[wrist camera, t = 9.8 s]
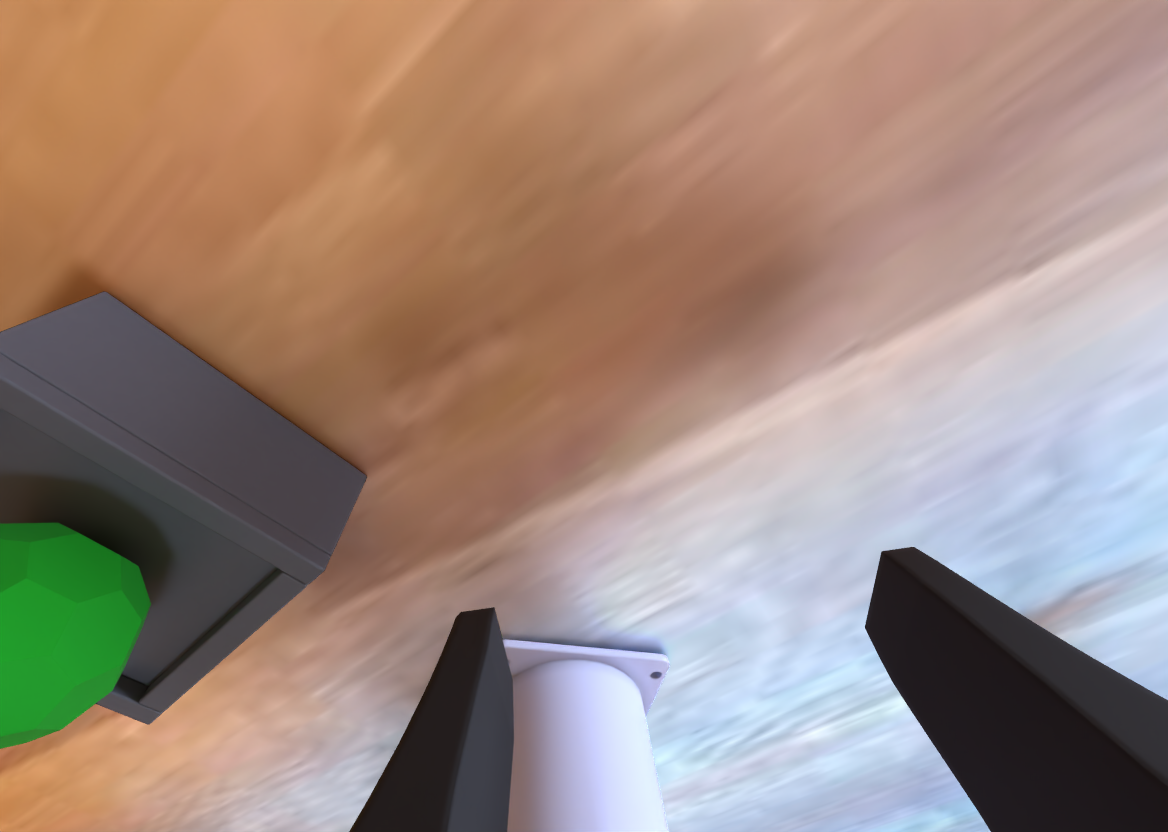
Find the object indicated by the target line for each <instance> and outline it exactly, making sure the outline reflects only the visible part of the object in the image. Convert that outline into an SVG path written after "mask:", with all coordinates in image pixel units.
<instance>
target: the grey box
mask: <svg viewBox="0 0 1168 832" xmlns="http://www.w3.org/2000/svg"><path fill="white" fill-rule="evenodd" d="M366 478H367V476H366V475H365V474H363V473H362V472H360V471H359V470H357V469H356V468H355V467H353V466H352V465H350V464H349V463H348V462H346V461H345V460H343V459H342V458H340V457H339V456H338V455H336V454H335V453H333V452H332V451H331V450H329V449H328V448H326V447H325V446H323V445H322V444H321V443H319V442H318V441H316V440H315V439H314V438H312V437H311V436H309V435H308V434H307V433H305V432H304V431H302V430H301V429H299V428H298V427H297V426H295V425H294V424H292V423H291V422H290V421H288V420H287V419H285V418H284V417H282V416H281V415H280V414H278V413H277V412H275V411H274V410H273V409H271V408H270V407H268V406H267V405H265V404H264V403H263V402H261V401H260V400H258V399H257V398H256V397H254V396H253V395H251V394H250V393H249V392H247V391H246V390H244V389H243V388H241V387H240V386H239V385H237V384H236V383H234V382H233V381H232V380H230V379H229V378H227V377H226V376H224V375H223V374H222V373H220V372H219V371H217V370H216V369H215V368H213V367H212V366H210V365H209V364H207V363H206V362H205V361H203V360H202V359H200V358H199V357H198V356H196V355H195V354H193V353H192V352H191V351H189V350H188V349H186V348H185V347H183V346H182V345H181V344H179V343H178V342H176V341H175V340H174V339H172V338H171V337H169V336H168V335H166V334H165V333H164V332H162V331H161V330H159V329H158V328H157V327H155V326H154V325H152V324H151V323H149V322H148V321H147V320H145V319H144V318H142V317H141V316H140V315H138V314H137V313H135V312H134V311H132V310H131V309H130V308H128V307H127V306H125V305H124V304H123V303H121V302H120V301H118V300H117V299H116V298H114V297H113V296H111V295H110V294H108V293H107V292H101V293H99V294H96V295H94V296H91V297H88V298H86V299H83V300H81V301H78V302H76V303H73V304H71V305H68V306H65V307H63V308H60V309H58V310H55V311H53V312H50V313H48V314H45V315H42V316H40V317H37V318H35V319H32V320H30V321H27V322H25V323H22V324H19V325H17V326H14V327H12V328H9V329H7V330H4V331H1V332H0V524H8V523H60V524H62V525H64V526H66V527H68V528H70V529H72V530H74V531H76V532H78V533H80V534H82V535H84V536H85V537H87V538H89V539H91V540H93V541H95V542H97V543H98V544H100V545H102V546H104V547H106V548H108V549H109V550H111V551H113V552H115V553H117V554H119V555H120V556H122V557H124V558H126V559H127V560H129V561H131V562H132V563H134V564H136V565H137V566H139V569H140V572H141V575H142V578H143V581H144V584H145V587H146V590H147V593H148V596H149V599H150V602H151V606H150V608H149V611H148V614H147V616H146V619H145V622H144V624H143V627H142V629H141V632H140V634H139V636H138V638H137V641H136V643H135V645H134V647H133V650H132V652H131V654H130V656H129V659H128V661H127V663H126V665H125V668H124V670H123V672H122V674H121V676H120V677H119V679H118V681H117V683H116V685H115V687H114V689H113V691H111V692H110V693H109V694H107V695H106V696H105V697H104V698H102V699H101V700H100V701H98V702H97V703H96V704H98V705H100V706H103V707H105V708H108V709H110V710H113V711H115V712H118V713H120V714H123V715H125V716H128V717H130V718H133V719H135V720H138V721H140V722H143V723H145V724H151V723H152V722H153V721H154V720H155V719H156V718H157V717H159V716H160V715H161V714H162V713H163V712H164V711H165V710H166V709H168V708H169V707H170V706H171V705H172V704H173V703H174V702H175V701H177V700H178V699H179V698H180V697H181V696H182V695H183V694H185V693H186V692H187V691H188V690H189V689H190V688H191V687H193V686H194V685H195V684H196V683H197V682H198V681H199V680H201V679H202V678H203V677H204V676H205V675H206V674H207V673H209V672H210V671H211V670H212V669H213V668H214V667H215V666H216V665H218V664H219V663H220V662H221V661H222V660H223V659H224V658H226V657H227V656H228V655H229V654H230V653H231V652H232V651H234V650H235V649H236V648H237V647H238V646H239V645H240V644H242V643H243V642H244V641H245V640H246V639H247V638H248V637H250V636H251V635H252V634H253V633H254V632H255V631H256V630H258V629H259V628H260V627H261V626H262V625H263V624H264V623H265V622H267V621H268V620H269V619H270V618H271V617H272V616H273V615H275V614H276V613H277V612H278V611H279V610H280V609H281V608H283V607H284V606H285V605H286V604H287V603H288V602H289V601H291V600H292V599H293V598H294V597H295V596H296V595H297V594H299V593H300V592H301V591H302V590H303V589H304V588H305V587H306V586H307V585H308V584H310V583H311V582H312V581H313V580H314V579H316V578H317V577H318V576H319V575H320V574H321V573H322V572H324V571H325V569H326V566H327V564H328V562H329V560H330V556H332V553H333V551H334V549H335V547H336V545H337V542H338V540H339V538H340V536H341V534H342V531H343V529H344V527H345V525H346V523H347V520H348V518H349V516H350V514H351V512H352V509H353V507H354V505H355V503H356V500H357V498H358V496H359V494H360V492H361V489H362V487H363V485H364V483H365V481H366Z"/></svg>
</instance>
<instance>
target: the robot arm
mask: <svg viewBox="0 0 1168 832" xmlns="http://www.w3.org/2000/svg"><path fill="white" fill-rule="evenodd" d="M865 629H866V631H867V633H868V635H869V637H870V639H871V641H872V643H873V645H874V647H875V649H876V651H877V653H878V655H879V657H880V659H881V661H882V663H883V665H884V667H885V669H886V670H887V672H888V674H889V676H890V678H891V680H892V682H893V683H894V685H895V686H896V688H897V690H898V691H899V693H900V694H901V696H902V697H903V699H904V700H905V702H906V703H907V705H908V706H909V708H910V710H911V711H912V713H913V714H914V716H915V717H916V719H917V720H918V722H919V723H920V725H921V726H922V728H923V729H924V731H925V732H926V734H927V735H928V737H929V738H930V740H931V741H932V743H933V744H934V746H935V747H936V749H937V750H938V752H939V753H940V755H941V756H942V758H943V759H944V761H945V762H946V764H947V765H948V767H949V768H950V770H951V771H952V773H953V774H954V776H955V777H956V779H957V780H958V782H959V783H960V785H961V786H962V788H963V789H964V791H965V792H966V794H967V795H968V797H969V798H970V800H971V801H972V803H973V804H974V806H975V807H976V809H977V810H978V812H979V813H980V815H981V816H982V818H983V820H984V821H985V823H986V824H987V826H988V828H989V829H990V831H991V832H1168V700H1166V699H1164V698H1163V697H1161V696H1159V695H1157V694H1155V693H1153V692H1152V691H1150V690H1148V689H1146V688H1144V687H1143V686H1141V685H1139V684H1137V683H1136V682H1134V681H1132V680H1130V679H1129V678H1127V677H1125V676H1123V675H1122V674H1120V673H1118V672H1116V671H1115V670H1113V669H1111V668H1109V667H1108V666H1106V665H1104V664H1102V663H1101V662H1099V661H1097V660H1095V659H1093V658H1092V657H1090V656H1088V655H1087V654H1085V653H1083V652H1082V651H1080V650H1078V649H1077V648H1075V647H1073V646H1072V645H1070V644H1068V643H1067V642H1065V641H1063V640H1062V639H1060V638H1058V637H1057V636H1055V635H1053V634H1052V633H1050V632H1048V631H1047V630H1045V629H1044V628H1042V627H1040V626H1039V625H1037V624H1036V623H1034V622H1032V621H1031V620H1029V619H1027V618H1026V617H1024V616H1023V615H1021V614H1019V613H1018V612H1016V611H1015V610H1013V609H1012V608H1010V607H1008V606H1007V605H1005V604H1004V603H1002V602H1000V601H999V600H997V599H996V598H994V597H993V596H991V595H989V594H988V593H986V592H985V591H983V590H982V589H980V588H978V587H977V586H975V585H974V584H972V583H971V582H969V581H968V580H966V579H964V578H963V577H961V576H960V575H958V574H957V573H955V572H953V571H952V570H950V569H949V568H947V567H946V566H944V565H942V564H941V563H939V562H938V561H936V560H934V559H933V558H931V557H930V556H928V555H926V554H925V553H923V552H921V551H920V550H918V549H916V548H915V547H909V548H902V549H895V550H888V551H882V552H881V557H880V561H879V566H878V570H877V575H876V579H875V584H874V588H873V593H872V597H871V602H870V606H869V611H868V615H867V620H866V625H865ZM669 667H670V664H669V660H668V658H667V656H665V655H663V654H657V653H646V652H636V651H625V650H615V649H604V648H593V647H583V646H572V645H561V644H551V643H540V642H530V641H519V640H508V639H505V640H503V639H502V635H501V631H500V628H499V624H498V620H497V616H496V612H495V608H494V607H493V608H486V609H479V610H472V611H465V612H461V613H460V614H459V615H458V616H457V617H456V619H455V621H454V624H453V627H452V629H451V632H450V634H449V637H448V639H447V642H446V644H445V647H444V649H443V651H442V654H441V656H440V658H439V661H438V663H437V665H436V667H435V670H434V672H433V674H432V676H431V679H430V681H429V683H428V685H427V687H426V689H425V692H424V694H423V696H422V698H421V700H420V702H419V704H418V706H417V708H416V710H415V712H414V714H413V716H412V718H411V720H410V722H409V724H408V726H407V728H406V730H405V732H404V734H403V736H402V738H401V740H400V742H399V744H398V746H397V748H396V750H395V751H394V753H393V755H392V757H391V759H390V761H389V762H388V764H387V766H386V768H385V770H384V772H383V773H382V775H381V777H380V779H379V781H378V783H377V784H376V786H375V788H374V790H373V792H372V793H371V795H370V797H369V799H368V801H367V802H366V804H365V806H364V808H363V809H362V811H361V813H360V814H359V816H358V818H357V819H356V821H355V823H354V825H353V826H352V828H351V830H350V831H349V832H669V830H668V825H667V820H666V815H665V810H664V805H663V800H662V795H661V790H660V785H659V780H658V775H657V770H656V765H655V760H654V755H653V751H652V746H651V741H650V736H649V731H648V726H647V721H646V716H647V714H648V711H649V709H650V707H651V705H652V703H653V701H654V699H655V697H656V695H657V693H658V691H659V689H660V686H661V684H662V682H663V680H664V678H665V676H666V674H667V672H668V670H669Z"/></svg>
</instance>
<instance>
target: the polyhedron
mask: <svg viewBox="0 0 1168 832" xmlns="http://www.w3.org/2000/svg"><path fill="white" fill-rule="evenodd" d="M150 606H151V602H150V599H149V596H148V593H147V590H146V587H145V584H144V581H143V578H142V575H141V572H140V569H139V566H137V565H136V564H134V563H132V562H131V561H129V560H127V559H126V558H124V557H122V556H120V555H119V554H117V553H115V552H113V551H111V550H109V549H108V548H106V547H104V546H102V545H100V544H98V543H97V542H95V541H93V540H91V539H89V538H87V537H85V536H84V535H82V534H80V533H78V532H76V531H74V530H72V529H70V528H68V527H66V526H64V525H62V524H60V523H8V524H0V749H1V748H6V747H10V746H14V745H19V744H23V743H27V742H29V741H32V740H35V739H37V738H40V737H43V736H45V735H48V734H51V733H53V732H56V731H59V730H61V729H63V728H64V727H65V726H67V725H68V724H69V723H71V722H72V721H73V720H74V719H76V718H77V717H78V716H80V715H81V714H82V713H84V712H85V711H86V710H88V709H89V708H90V707H92V706H93V705H94V704H96V703H97V702H98V701H100V700H101V699H102V698H104V697H105V696H106V695H107V694H109V693H110V692H111V691H113V689H114V687H115V685H116V683H117V681H118V679H119V677H120V676H121V674H122V672H123V670H124V668H125V665H126V663H127V661H128V659H129V656H130V654H131V652H132V650H133V647H134V645H135V643H136V641H137V638H138V636H139V634H140V632H141V629H142V627H143V624H144V622H145V619H146V616H147V614H148V611H149V608H150Z"/></svg>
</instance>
